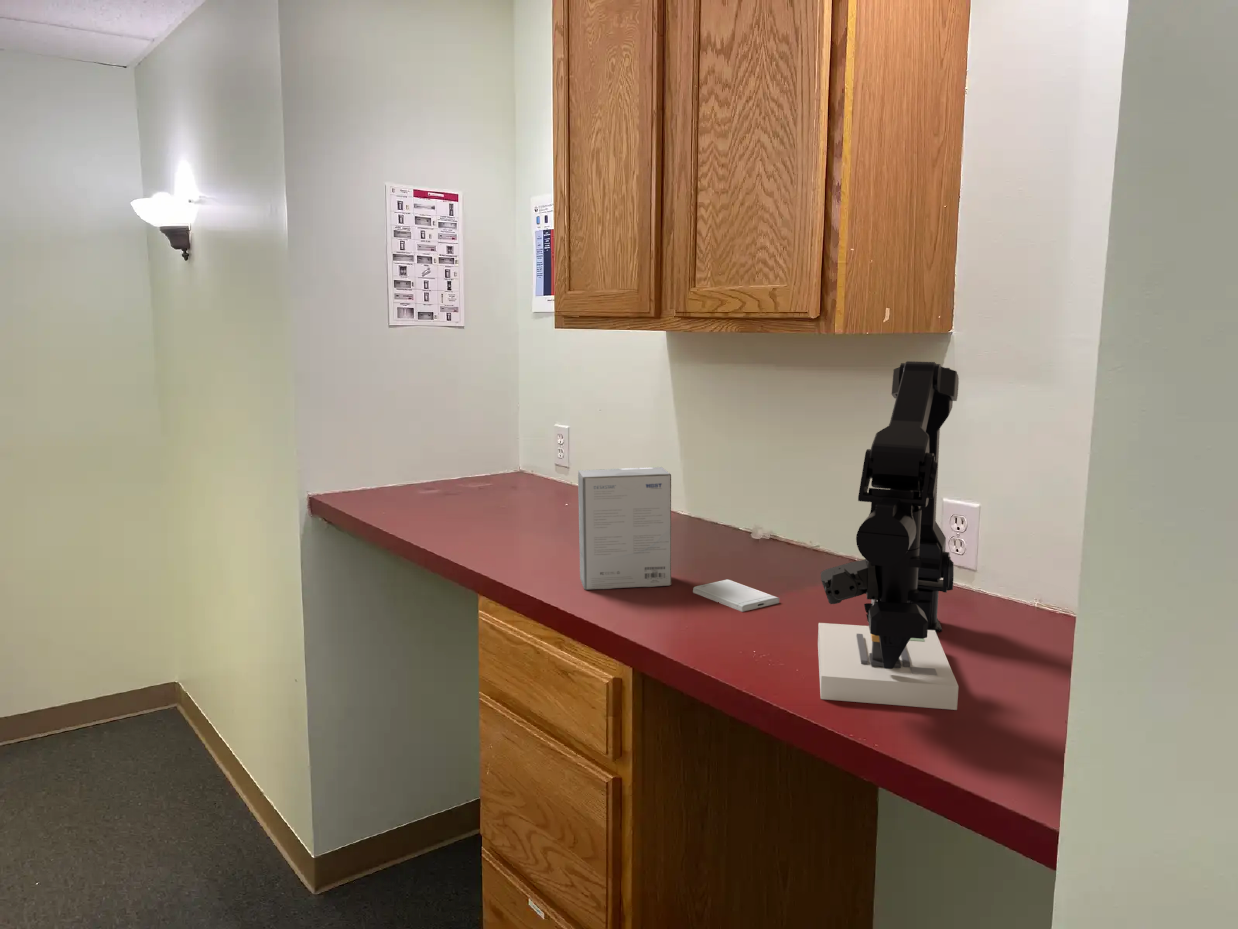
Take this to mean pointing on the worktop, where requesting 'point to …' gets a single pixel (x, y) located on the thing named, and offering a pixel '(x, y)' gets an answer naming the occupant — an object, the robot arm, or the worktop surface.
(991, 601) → the worktop surface
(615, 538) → the hard drive box
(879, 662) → the breaker toggle
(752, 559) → the worktop surface
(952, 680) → the breaker box
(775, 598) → the hard drive
